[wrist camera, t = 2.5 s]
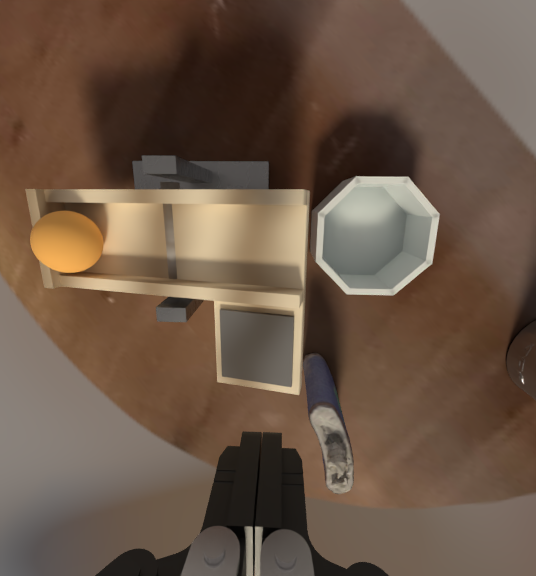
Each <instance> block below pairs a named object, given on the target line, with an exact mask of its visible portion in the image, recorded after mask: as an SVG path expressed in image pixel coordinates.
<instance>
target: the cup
mask: <svg viewBox="0 0 536 576" xmlns="http://www.w3.org/2000/svg"><path fill="white" fill-rule="evenodd" d="M439 215H440V214H439V213H438V212H437V211H436V210H435V208H434V207H433V206H432V205H431V204H430V202H429V201H428V200H427V199H426V198H425V196H424V195H423V194H422V193H421V192H420V190H419V189H418V188H417V187H416V186H415V184H414V183H413V182H412V181H411V179H410V178H409V177H408V176H407V177H366V176H355V177H353V178H350V179H347V180H344V181H342V182H341V183H340V184H339V185H338V186H337V187H336V188H335V189H334V190H333V191H332V192H331V193H330V194H329V195H328V196H327V197H326V198H325V199H324V200H323V201H322V202H321V203H320V204H318V205H317V206H316V207H315V208H314V209H313V210H312V217H311V238H310V252H311V254H312V256H313V258H314V260H315V262H317V264H318V265H319V266H320V267H321V268H322V269H323V270H324V271H325V272H326V273H327V274H328V275H329V276H330V277H331V278H332V279H333V280H334V281H335V282H336V283H337V285H338V286H339V287H340V288H341V289H342V290H343V291H344V292H345V293H346V294H358V295H395V294H396V293H397V292H398V291H399V290H401V289H402V288H403V287H404V286H405V285H407V284H408V283H409V282H410V281H412V280H413V279H414V278H415V277H416V276H418V275H419V274H420V273H421V272H422V271H424V270H425V269H426V268H427V267H429V266H430V265H431V264H432V260H433V254H434V247H435V241H436V234H437V228H438V222H439Z"/></svg>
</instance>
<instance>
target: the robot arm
mask: <svg viewBox="0 0 536 576" xmlns="http://www.w3.org/2000/svg"><path fill="white" fill-rule="evenodd" d="M506 363H507V371H508V373H509V375H510V378H511V379H512V380H513V382H514V383H515V384H516V385H517V386H518V387H520V388H521V389H522V390H524V391H525V392H526V393H527V394H529V395H530V396H531V397H532V398H534V399H535V400H536V320H535V321H534V322H532V323H530V324H529V325H528V326H526V327H525V328H524V329H523V330H522V331H521V332H520V333H519V334H518V335H517V336H516V337H515V339H514V341H513V342H512V344H511V345H510V348H509V351H508V354H507V362H506ZM305 507H306V506H305V494H304V481H303V468H302V459H301V458H300V456H299V454H298V452H297V451H296V449H291V448H282V433H270V432H263V437H262V433H261V432H242V437H241V443H240V447H239V446H227V448H226V449H225V450H224V452H223V453H222V454H221V456H220V457H219V461H218V465H217V469H216V474H215V478H214V483H213V486H212V490H211V495H210V498H209V502H208V506H207V510H206V515H205V519H204V523H203V527H202V529H201V532H200V534H199V535H198V536H197V537H196V538H195V539H194V541H193V543H192V544H191V545H190V546H189V547H187V548H186V549H185V550H183V551H181V552H179V553H176V554H173V555H170V556H167V557H164V558H161V559H157V560H156V559H155V557H154V555H153V554H152V553H151V552H149V551H147V550H145V549H133V550H129V551H127V552H125V553H123V554H121V555H120V556H118V557H117V558H116V559H115V560H113V561H112V562H111V563H110V564H109V565H107V566H106V567H105V568H104V569H103V570H102V571H100V572H99V573H98V574H97V575H96V576H254V566H255V576H388V575H387V574H386V573H385V572H384V571H383V570H382V569H380V568H379V567H377V566H375V565H373V564H371V563H367V562H358V563H355V564H353V565H351V566H350V567H349V568H348V569H345V568H343V567H341V566H338V565H336V564H334V563H331V562H330V561H328V560H326V559H324V558H323V557H322V556H321V555H320V554H319V553H318V552H317V551H316V550H315V549H314V547H313V546H312V544H311V542H310V540H309V536H308V531H307V520H306V508H305Z"/></svg>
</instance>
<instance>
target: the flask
mask: <svg viewBox="0 0 536 576" xmlns="http://www.w3.org/2000/svg"><path fill="white" fill-rule="evenodd" d="M303 369H304V375H305V383H306V391H307V402H308V416H309V420H310V423H311V425H312V427H313V429H314V431H315V433H316V435H317V437H318V440H319V443H320V446H321V450H322V456H323V463H324V470H325V481H326V486H327V488H328V489H329V490H331V491H332V492H333V493H336V494H341V493H346V492H348V491H349V490H351V488H352V486H353V481H354V477H353V475H354V472H353V454H352V448H351V444H350V440H349V436H348V433H347V430H346V426H345V422H344V419H343V415H342V411H341V407H340V403H339V399H338V393H337V389H336V387H335V384H334V381H333V377H332V375H331V373H330V370H329V367H328V365H327V363H326V361H325V360H324V358H323V357H322V356H321V355H320V354H317V353H312V354H309V355H306V356H305V358H304V360H303Z"/></svg>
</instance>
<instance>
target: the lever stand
mask: <svg viewBox="0 0 536 576" xmlns="http://www.w3.org/2000/svg"><path fill="white" fill-rule="evenodd" d="M132 164H133V174H134V184H135V189H161V186H160V182H179V183H180V189H269V161H187V160H184V159H182V158H180V157H177V156H142V161H132ZM203 301H204V300H202V299H191V298H180V297H177V298H175V297H170V296H169V297H168V298H167V299H165V300H164V301H163V302H162V303H161V304H159V305H158V306H157V307H156V313H157V321H164V322H187V321H188V320H189V318H190V317H191V316H192V315H193V313H194V312H195V311H196V310H197V308H198V307H199V306H200V305H201V303H202V302H203Z"/></svg>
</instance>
